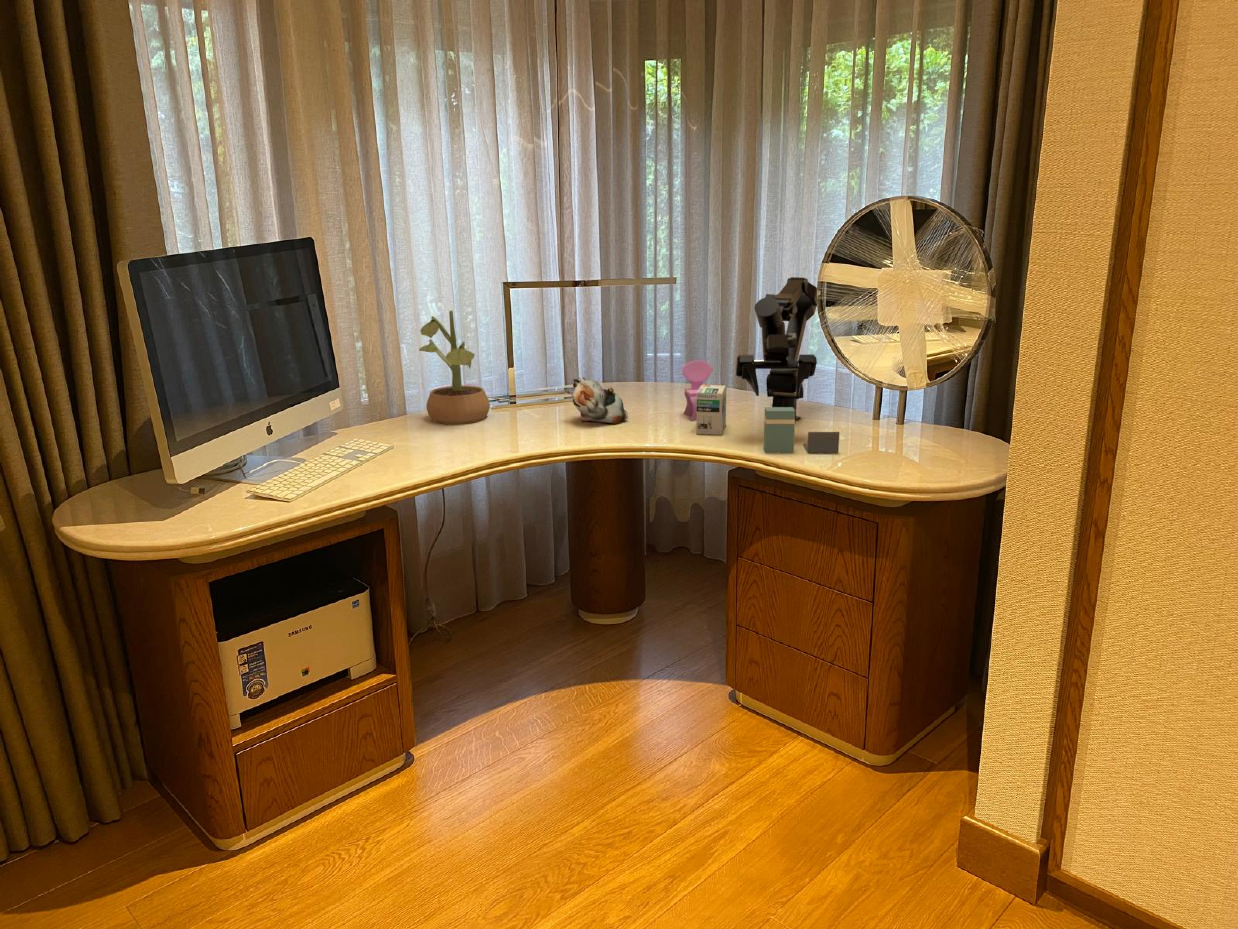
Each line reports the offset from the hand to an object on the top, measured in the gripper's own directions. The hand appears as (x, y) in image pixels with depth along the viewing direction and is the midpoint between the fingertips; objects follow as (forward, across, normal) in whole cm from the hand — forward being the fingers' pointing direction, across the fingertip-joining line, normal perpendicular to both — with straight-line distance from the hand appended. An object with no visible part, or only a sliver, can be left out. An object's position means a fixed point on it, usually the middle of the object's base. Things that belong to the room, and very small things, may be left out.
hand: (777, 395), depth 217 cm
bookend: (+11, +10, +6) cm, 16 cm away
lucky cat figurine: (-8, -44, +26) cm, 52 cm away
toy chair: (-12, -18, +29) cm, 36 cm away
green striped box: (+12, 0, +5) cm, 13 cm away
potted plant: (-8, -83, +26) cm, 87 cm away
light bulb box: (-2, -15, +19) cm, 24 cm away
